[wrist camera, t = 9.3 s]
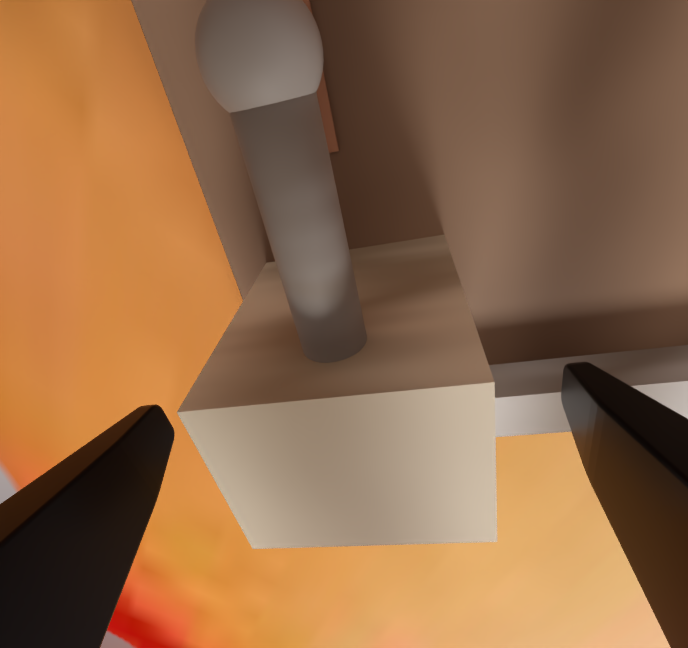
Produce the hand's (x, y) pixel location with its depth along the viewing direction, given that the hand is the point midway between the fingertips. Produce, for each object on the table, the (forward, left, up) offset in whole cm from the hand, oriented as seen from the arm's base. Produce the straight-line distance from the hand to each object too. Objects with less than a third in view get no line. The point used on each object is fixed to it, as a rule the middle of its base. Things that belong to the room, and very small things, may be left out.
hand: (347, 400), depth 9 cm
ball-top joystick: (0, -3, -4) cm, 5 cm away
